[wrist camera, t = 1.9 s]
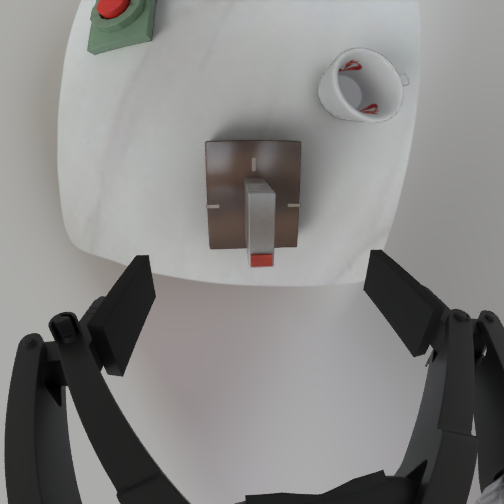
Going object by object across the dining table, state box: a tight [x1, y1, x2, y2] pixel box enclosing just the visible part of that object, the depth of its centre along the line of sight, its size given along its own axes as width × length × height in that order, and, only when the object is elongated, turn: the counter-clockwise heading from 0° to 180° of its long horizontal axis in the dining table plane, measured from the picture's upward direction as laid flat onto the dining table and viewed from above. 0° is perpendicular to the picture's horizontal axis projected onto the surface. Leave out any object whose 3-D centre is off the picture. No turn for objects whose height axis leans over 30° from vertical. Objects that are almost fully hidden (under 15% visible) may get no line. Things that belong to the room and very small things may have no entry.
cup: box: [318, 48, 409, 123], centre depth 23 cm, size 11×8×8 cm
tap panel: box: [205, 140, 301, 249], centre depth 30 cm, size 12×10×3 cm
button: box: [97, 0, 129, 19], centre depth 17 cm, size 4×4×2 cm
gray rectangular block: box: [244, 178, 276, 268], centre depth 25 cm, size 6×2×9 cm, turn 0°
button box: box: [87, 0, 156, 55], centre depth 19 cm, size 10×8×4 cm
